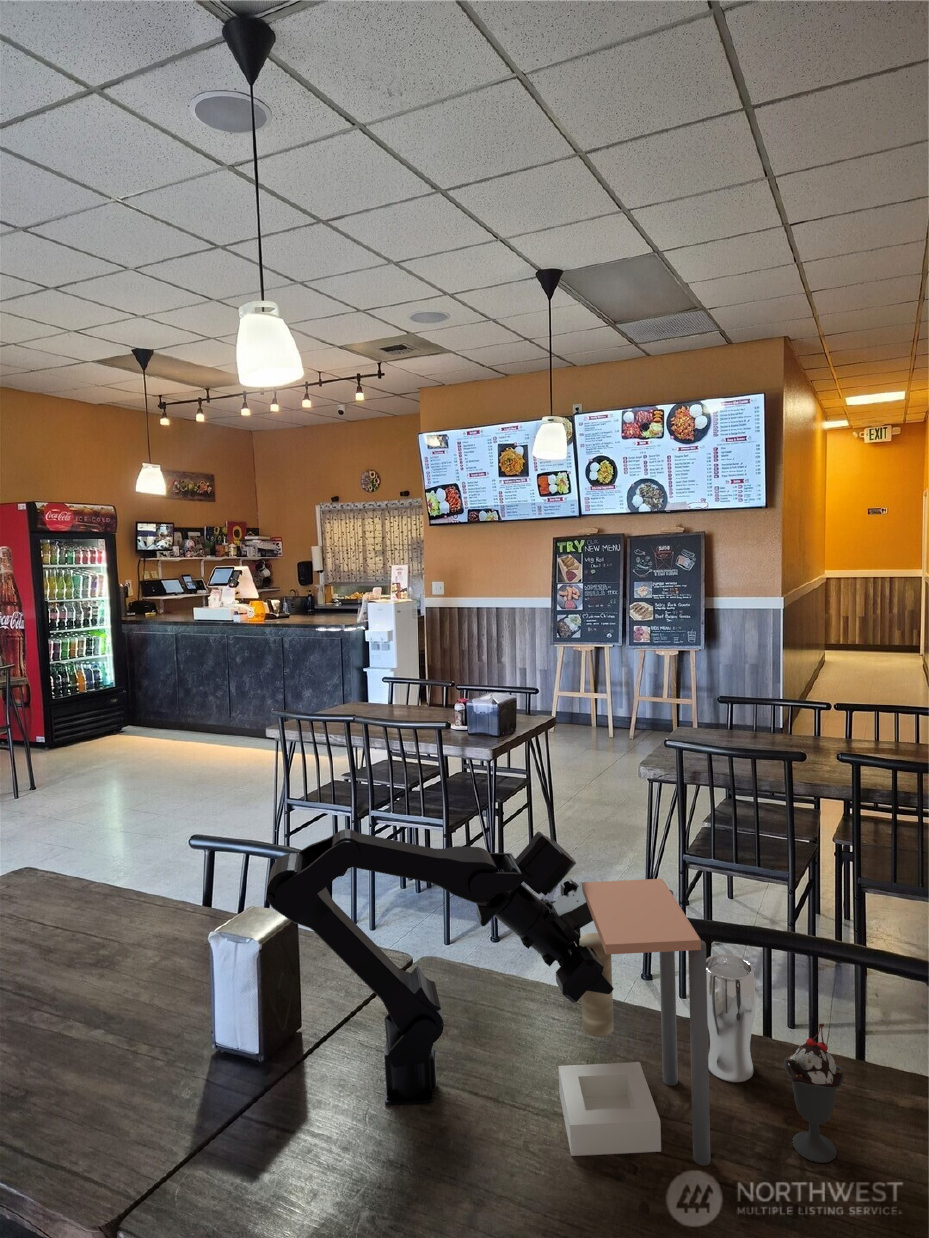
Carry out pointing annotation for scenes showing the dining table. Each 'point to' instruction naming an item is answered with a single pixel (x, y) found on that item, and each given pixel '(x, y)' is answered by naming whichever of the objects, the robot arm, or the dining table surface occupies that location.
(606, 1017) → the dowel
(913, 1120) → the dining table surface
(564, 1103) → the table parts
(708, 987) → the beer glass
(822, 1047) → the sundae
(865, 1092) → the dining table surface
